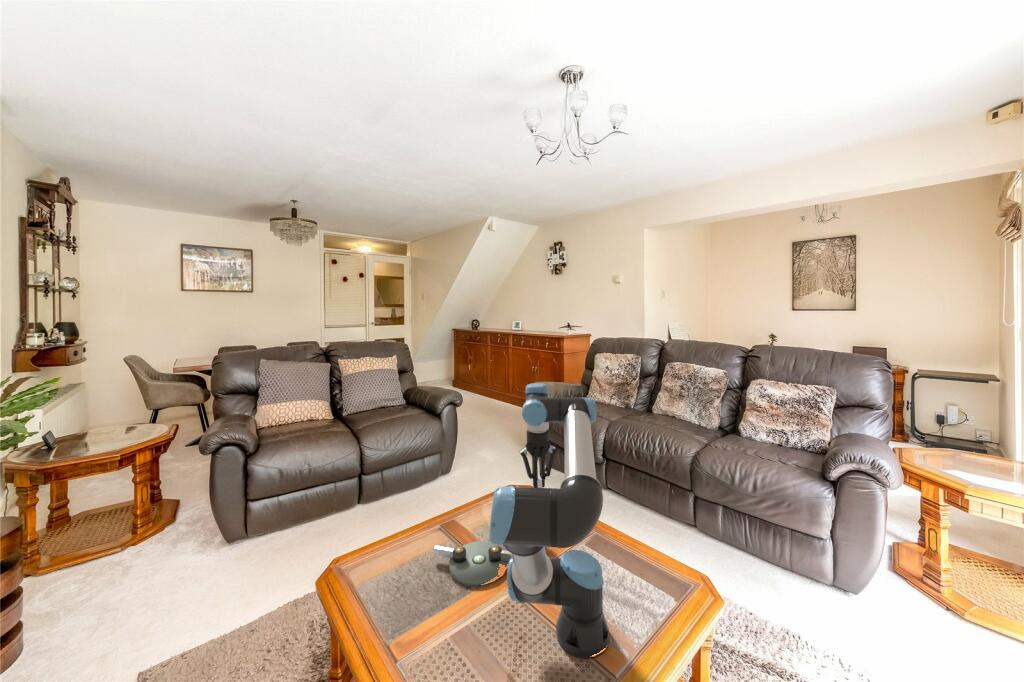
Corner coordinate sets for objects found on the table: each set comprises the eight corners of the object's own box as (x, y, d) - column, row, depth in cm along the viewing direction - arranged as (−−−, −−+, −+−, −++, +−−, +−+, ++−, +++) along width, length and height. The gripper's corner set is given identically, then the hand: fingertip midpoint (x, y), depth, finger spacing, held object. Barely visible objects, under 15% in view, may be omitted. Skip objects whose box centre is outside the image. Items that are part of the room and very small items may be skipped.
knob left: (468, 555, 146) (468, 546, 146) (463, 563, 141) (462, 554, 141) (438, 550, 150) (438, 541, 149) (432, 558, 145) (431, 549, 144)
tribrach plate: (514, 579, 136) (514, 573, 136) (451, 591, 131) (451, 585, 131) (502, 542, 157) (502, 536, 157) (447, 551, 152) (447, 545, 152)
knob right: (486, 560, 142) (486, 551, 142) (491, 552, 147) (490, 543, 147) (519, 566, 139) (519, 557, 139) (523, 557, 144) (522, 548, 143)
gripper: (552, 424, 135) (553, 488, 138) (516, 427, 132) (518, 493, 135) (559, 431, 128) (560, 499, 130) (521, 435, 125) (523, 504, 128)
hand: (539, 496), depth 133 cm, fingers closed
